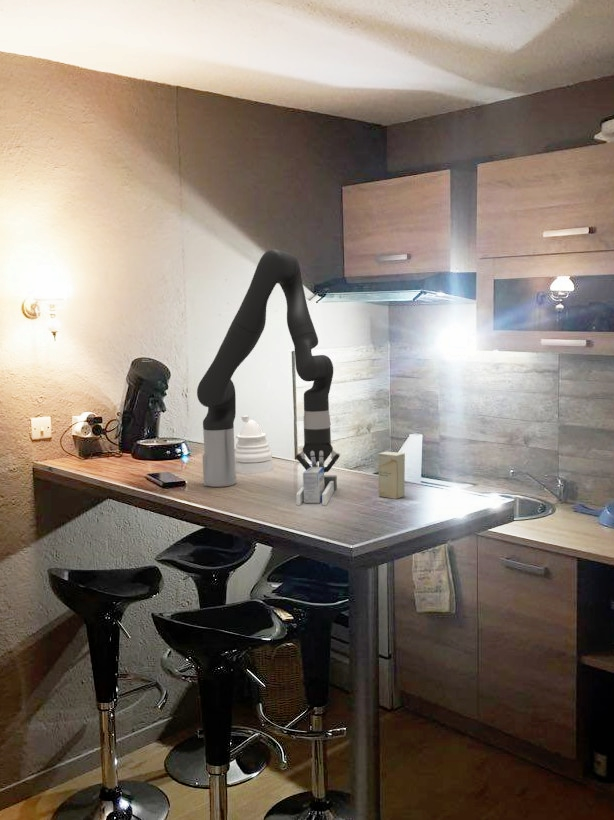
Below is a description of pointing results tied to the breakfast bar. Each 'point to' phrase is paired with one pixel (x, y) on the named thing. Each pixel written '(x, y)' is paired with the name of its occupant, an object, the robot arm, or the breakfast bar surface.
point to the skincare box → (391, 474)
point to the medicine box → (313, 484)
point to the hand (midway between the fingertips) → (318, 486)
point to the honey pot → (252, 449)
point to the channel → (330, 487)
